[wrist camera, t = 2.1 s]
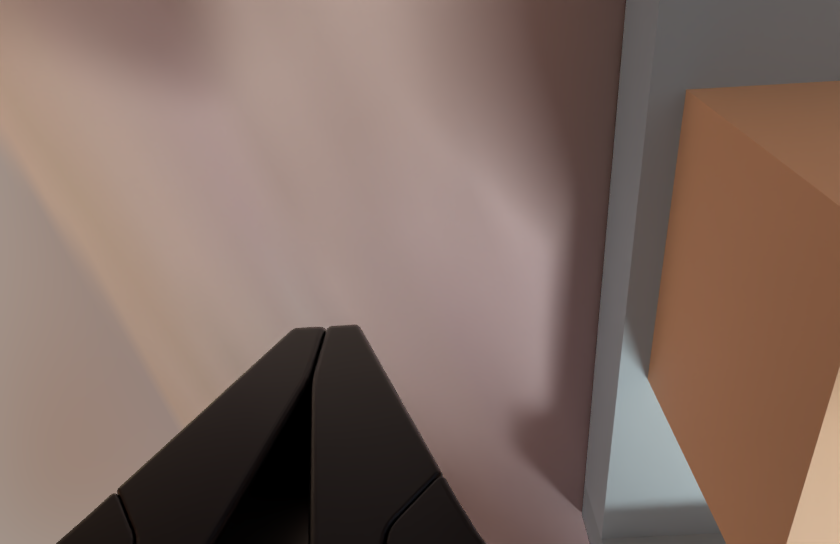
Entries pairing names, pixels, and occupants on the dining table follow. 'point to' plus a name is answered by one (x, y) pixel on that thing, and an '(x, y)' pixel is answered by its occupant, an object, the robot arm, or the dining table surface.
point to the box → (647, 230)
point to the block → (756, 309)
